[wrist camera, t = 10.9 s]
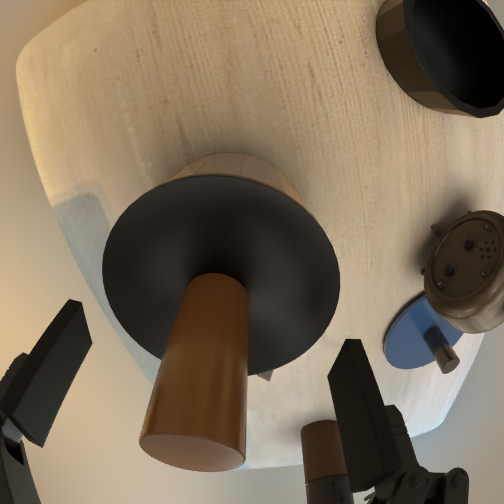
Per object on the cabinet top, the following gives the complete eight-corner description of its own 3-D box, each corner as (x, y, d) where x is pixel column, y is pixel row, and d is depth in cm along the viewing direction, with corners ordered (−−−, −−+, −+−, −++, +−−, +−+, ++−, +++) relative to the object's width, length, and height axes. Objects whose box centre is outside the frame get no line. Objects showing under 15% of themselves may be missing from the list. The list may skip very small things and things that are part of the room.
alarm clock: (422, 286, 29) (494, 394, 14) (395, 264, 27) (476, 384, 13) (479, 213, 24) (578, 292, 10) (457, 183, 23) (575, 259, 9)
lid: (73, 230, 15) (-38, 340, 6) (291, 129, 13) (385, 171, 4) (178, 378, 21) (154, 495, 12) (353, 332, 18) (396, 467, 9)
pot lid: (377, 309, 30) (400, 354, 24) (471, 268, 28) (503, 302, 21) (384, 375, 36) (399, 414, 29) (462, 340, 33) (483, 372, 27)
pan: (353, -5, 16) (376, -28, 11) (453, -5, 13) (484, -16, 8) (403, 122, 21) (437, 128, 16) (490, 104, 19) (526, 110, 14)
